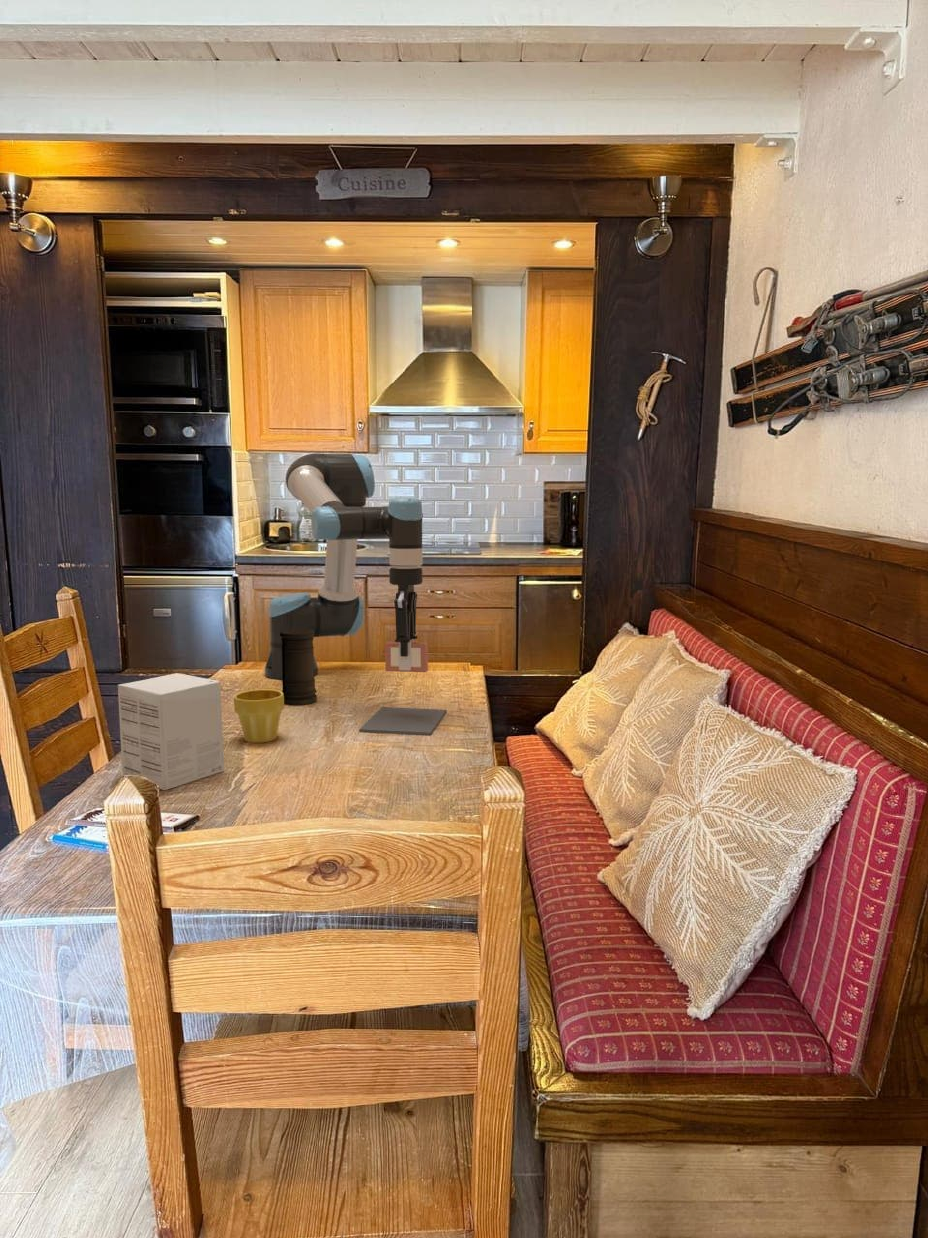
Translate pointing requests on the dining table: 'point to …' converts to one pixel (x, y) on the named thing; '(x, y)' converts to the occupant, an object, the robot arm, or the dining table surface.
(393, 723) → the mat
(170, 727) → the supplement box
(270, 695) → the plant pot
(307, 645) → the container
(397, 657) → the card box
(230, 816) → the dining table surface
